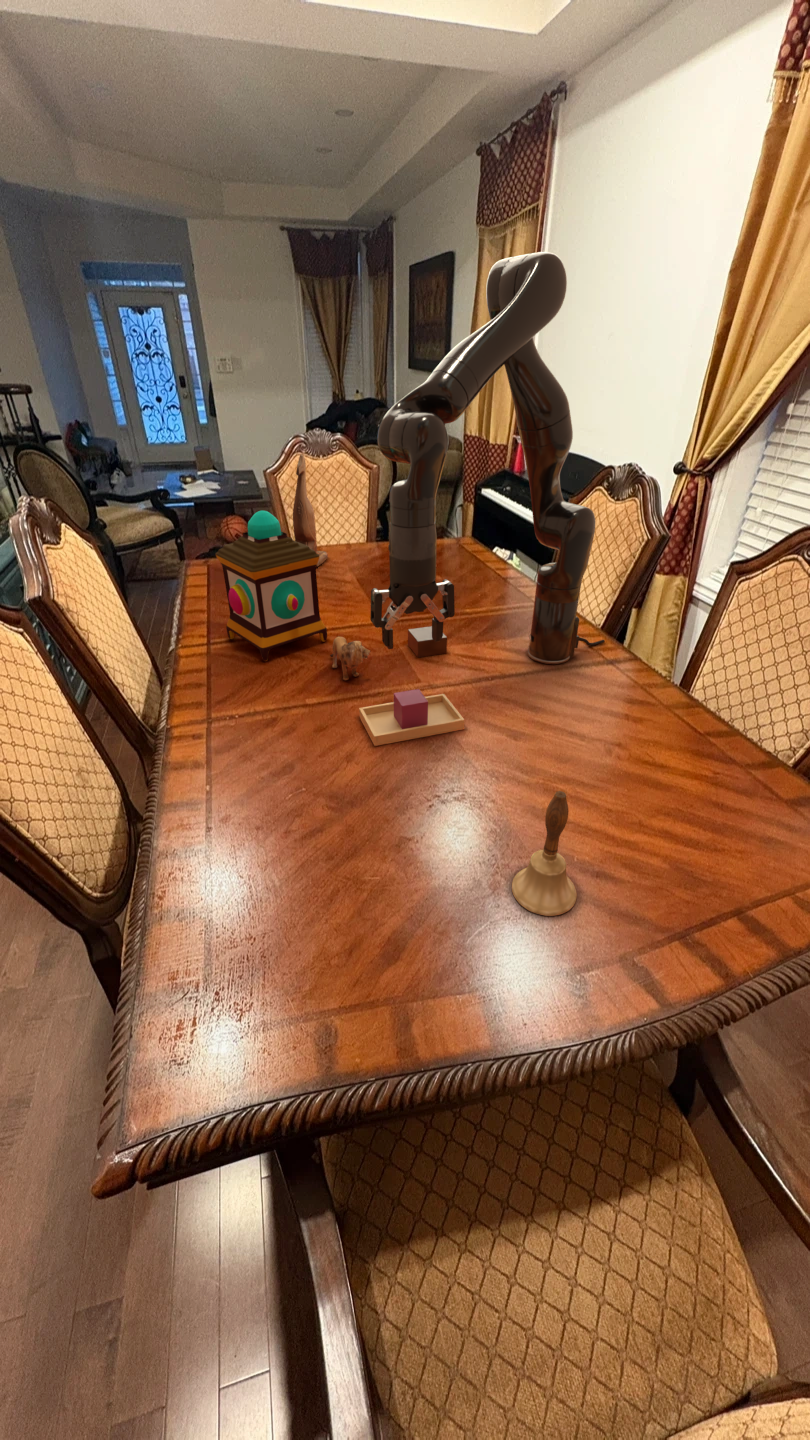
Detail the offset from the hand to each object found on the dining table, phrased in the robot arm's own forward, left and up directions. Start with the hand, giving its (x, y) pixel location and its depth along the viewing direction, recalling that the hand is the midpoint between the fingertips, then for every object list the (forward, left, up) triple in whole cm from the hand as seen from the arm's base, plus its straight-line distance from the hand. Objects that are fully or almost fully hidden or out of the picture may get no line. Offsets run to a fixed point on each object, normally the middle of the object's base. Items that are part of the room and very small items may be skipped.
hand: (413, 643), depth 105 cm
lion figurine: (+6, -24, -16) cm, 30 cm away
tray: (0, 0, -16) cm, 16 cm away
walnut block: (-14, -29, -16) cm, 36 cm away
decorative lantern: (+18, -45, -16) cm, 51 cm away
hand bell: (-3, +44, -16) cm, 47 cm away
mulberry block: (0, 0, -16) cm, 16 cm away
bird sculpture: (0, -102, -16) cm, 103 cm away
